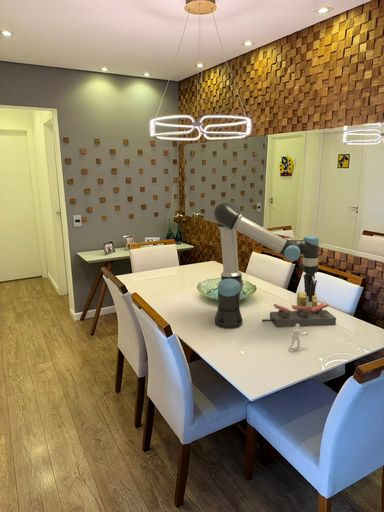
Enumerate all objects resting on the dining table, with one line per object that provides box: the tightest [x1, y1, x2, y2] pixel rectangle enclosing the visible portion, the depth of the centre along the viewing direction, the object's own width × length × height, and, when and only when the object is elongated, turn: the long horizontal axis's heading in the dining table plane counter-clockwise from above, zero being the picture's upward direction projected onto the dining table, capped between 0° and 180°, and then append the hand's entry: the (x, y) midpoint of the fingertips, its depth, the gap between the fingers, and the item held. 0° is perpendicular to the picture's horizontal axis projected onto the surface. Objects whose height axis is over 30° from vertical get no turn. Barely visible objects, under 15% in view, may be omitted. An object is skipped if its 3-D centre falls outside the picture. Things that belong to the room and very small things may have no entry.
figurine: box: [288, 324, 308, 353], centre depth 161 cm, size 5×9×12 cm, turn 124°
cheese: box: [296, 291, 318, 311], centre depth 207 cm, size 10×11×10 cm
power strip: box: [261, 309, 337, 328], centre depth 192 cm, size 38×12×6 cm, turn 94°
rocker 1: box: [273, 303, 292, 313], centre depth 193 cm, size 9×4×2 cm, turn 94°
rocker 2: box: [291, 304, 310, 311], centre depth 193 cm, size 9×4×2 cm, turn 94°
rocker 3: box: [310, 301, 329, 312], centre depth 194 cm, size 9×4×2 cm, turn 93°
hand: (309, 306), depth 193 cm, fingers closed
